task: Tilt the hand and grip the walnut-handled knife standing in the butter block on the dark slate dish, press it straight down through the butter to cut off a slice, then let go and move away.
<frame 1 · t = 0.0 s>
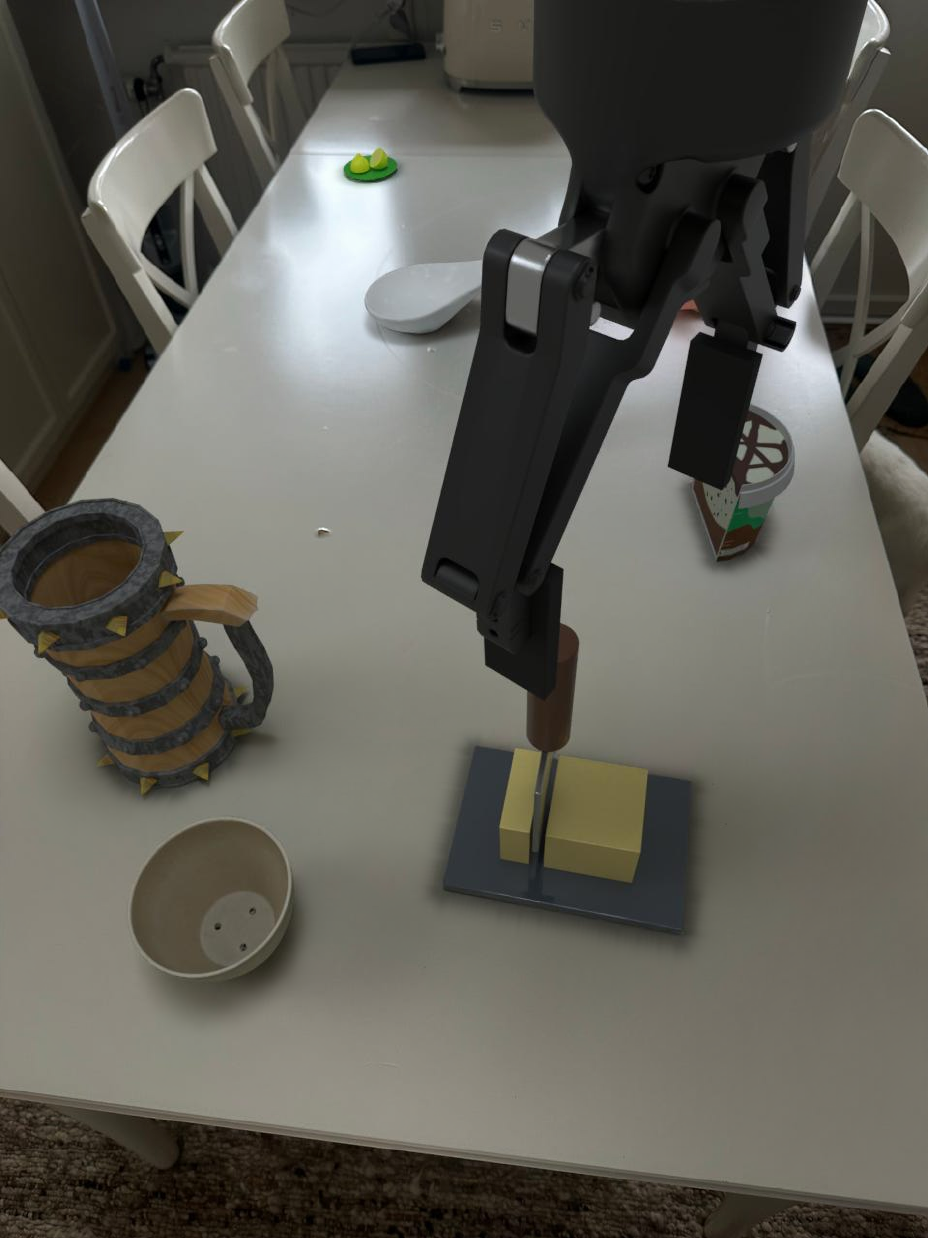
hand: (617, 566, 35), 31 cm above the table, tool pointing down, fingers open, 13 cm apart
knife: (548, 728, 51), point 14 cm above the table, slide at 0.0 cm
salt shaker: (556, 442, 88), on the table
lemon: (371, 172, 128), on the table
food container: (735, 523, 80), on the table
teapot: (670, 295, 104), on the table
flower pot: (239, 932, 58), on the table
spoon rest: (466, 322, 102), on the table
butter dish: (570, 836, 61), on the table
mug: (203, 733, 68), on the table
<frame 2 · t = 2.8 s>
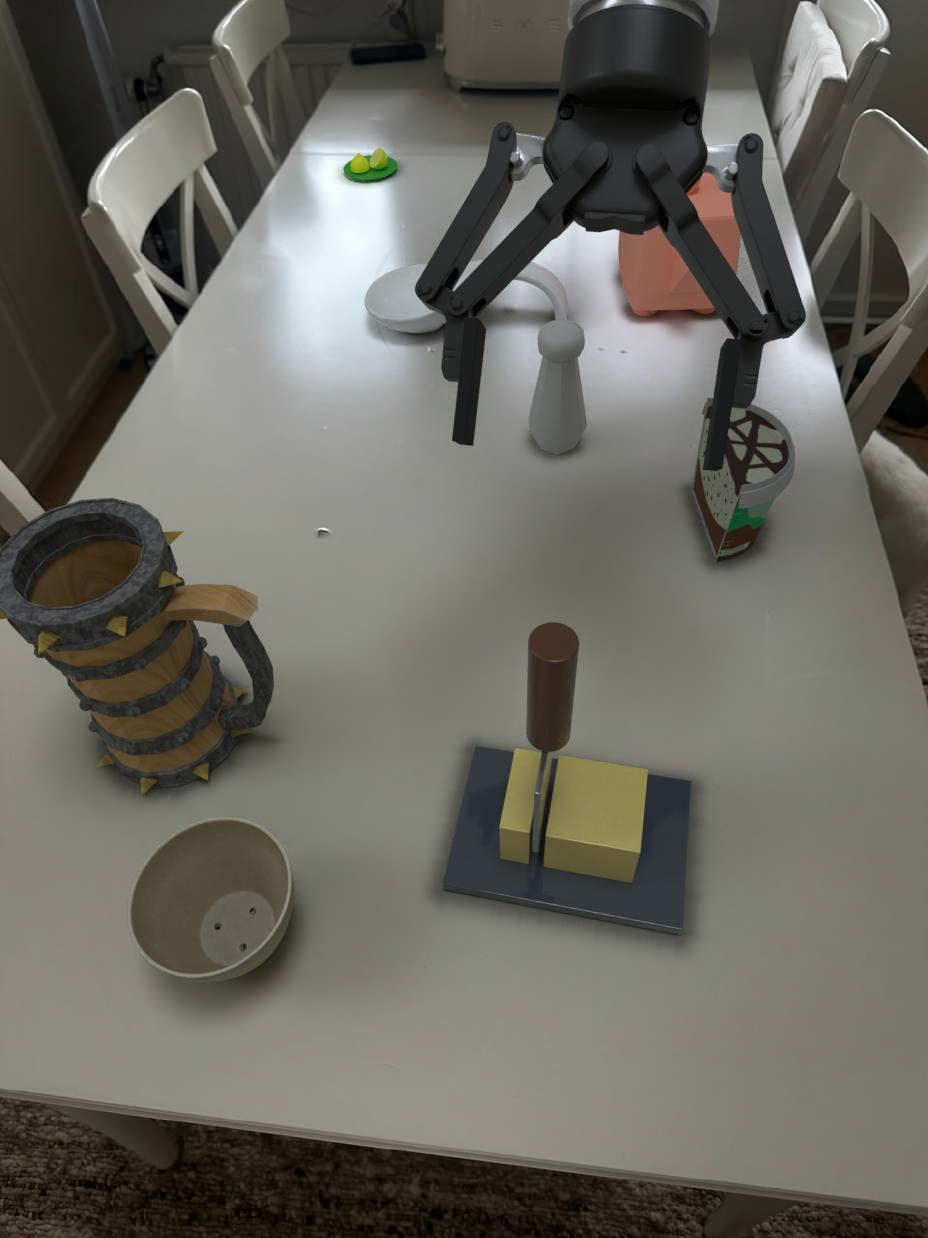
hand: (584, 456, 47), 26 cm above the table, tool tilted 45°, fingers open, 13 cm apart
nothing on the table moved.
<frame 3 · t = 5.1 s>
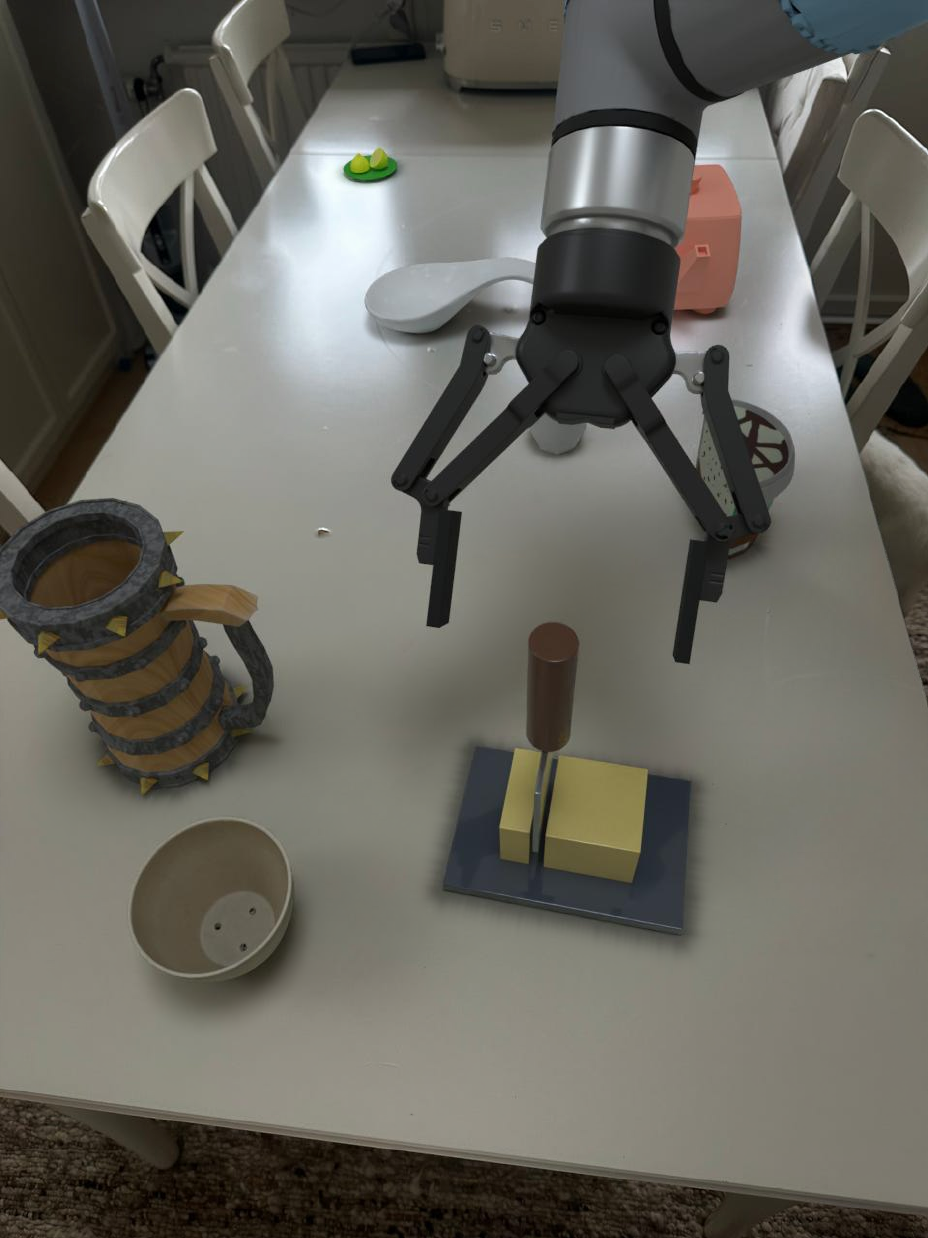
hand: (556, 642, 48), 19 cm above the table, tool tilted 45°, fingers open, 13 cm apart
nothing on the table moved.
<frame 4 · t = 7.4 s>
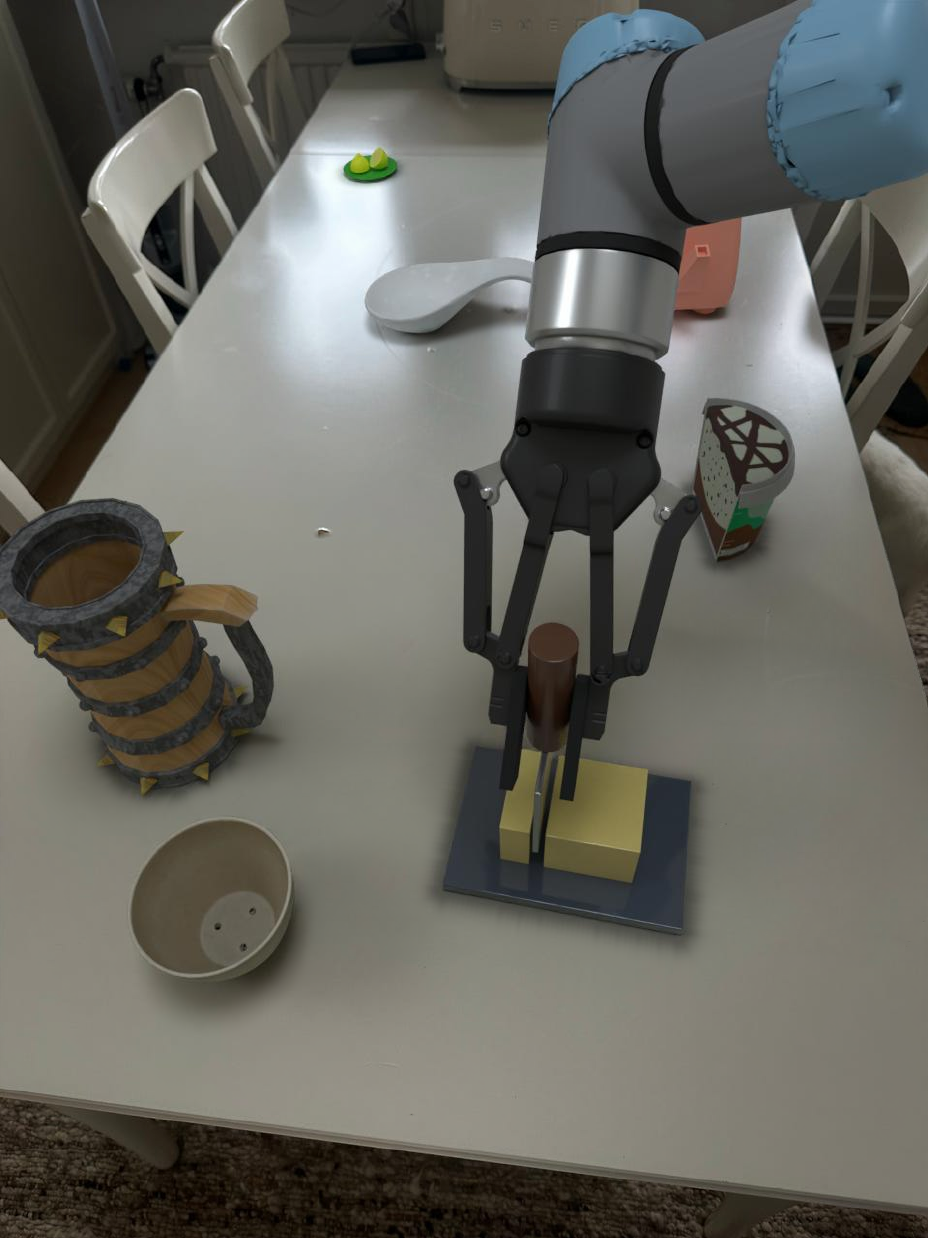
hand: (538, 787, 48), 14 cm above the table, tool tilted 45°, fingers closed on knife, 3 cm apart
knife: (548, 729, 51), point 14 cm above the table, slide at 0.0 cm, touching gripper
everything else where it was.
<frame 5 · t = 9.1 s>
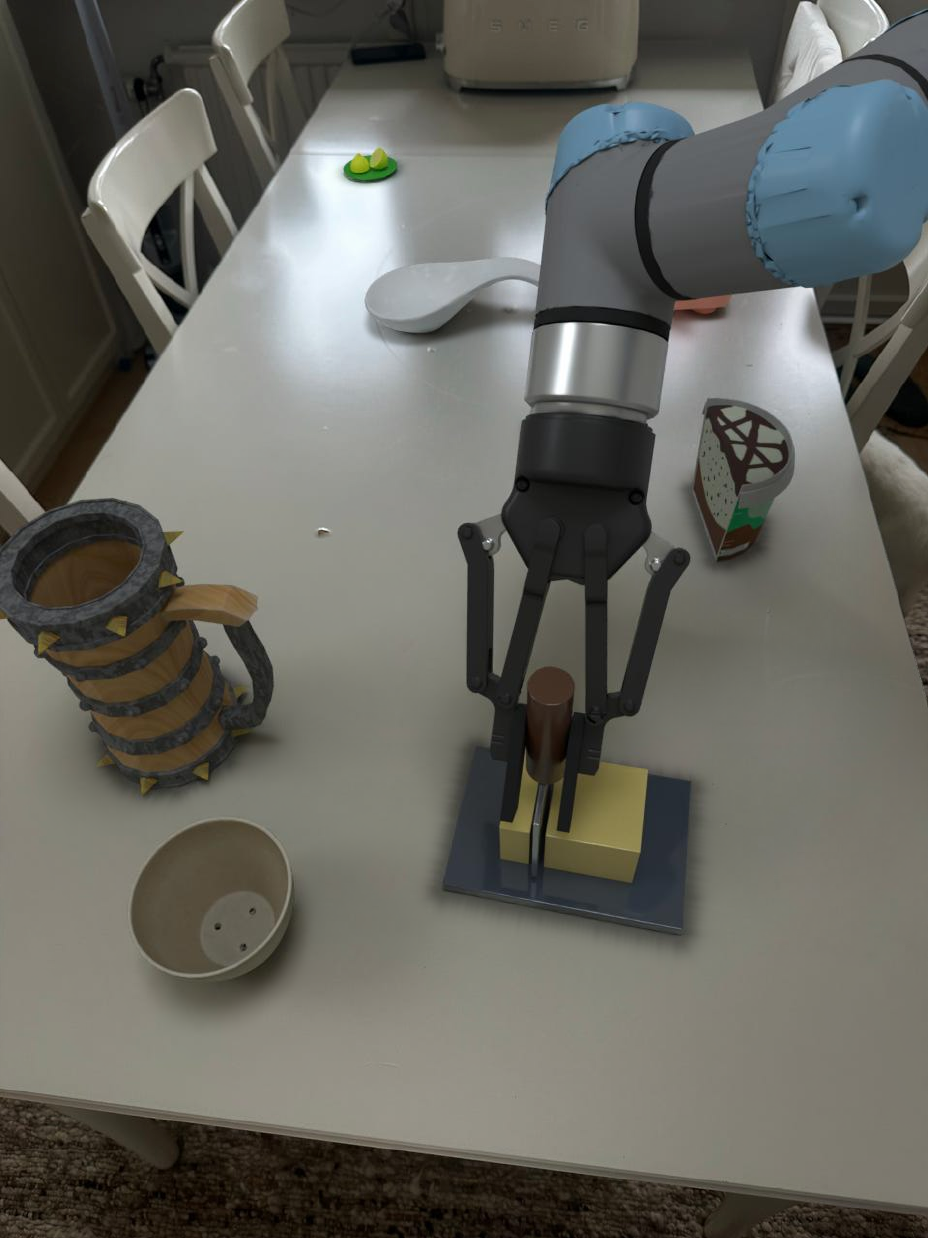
hand: (536, 818, 51), 10 cm above the table, tool tilted 45°, fingers closed on knife, 3 cm apart
knife: (546, 762, 54), point 10 cm above the table, slide at 4.0 cm, touching gripper
everything else where it was.
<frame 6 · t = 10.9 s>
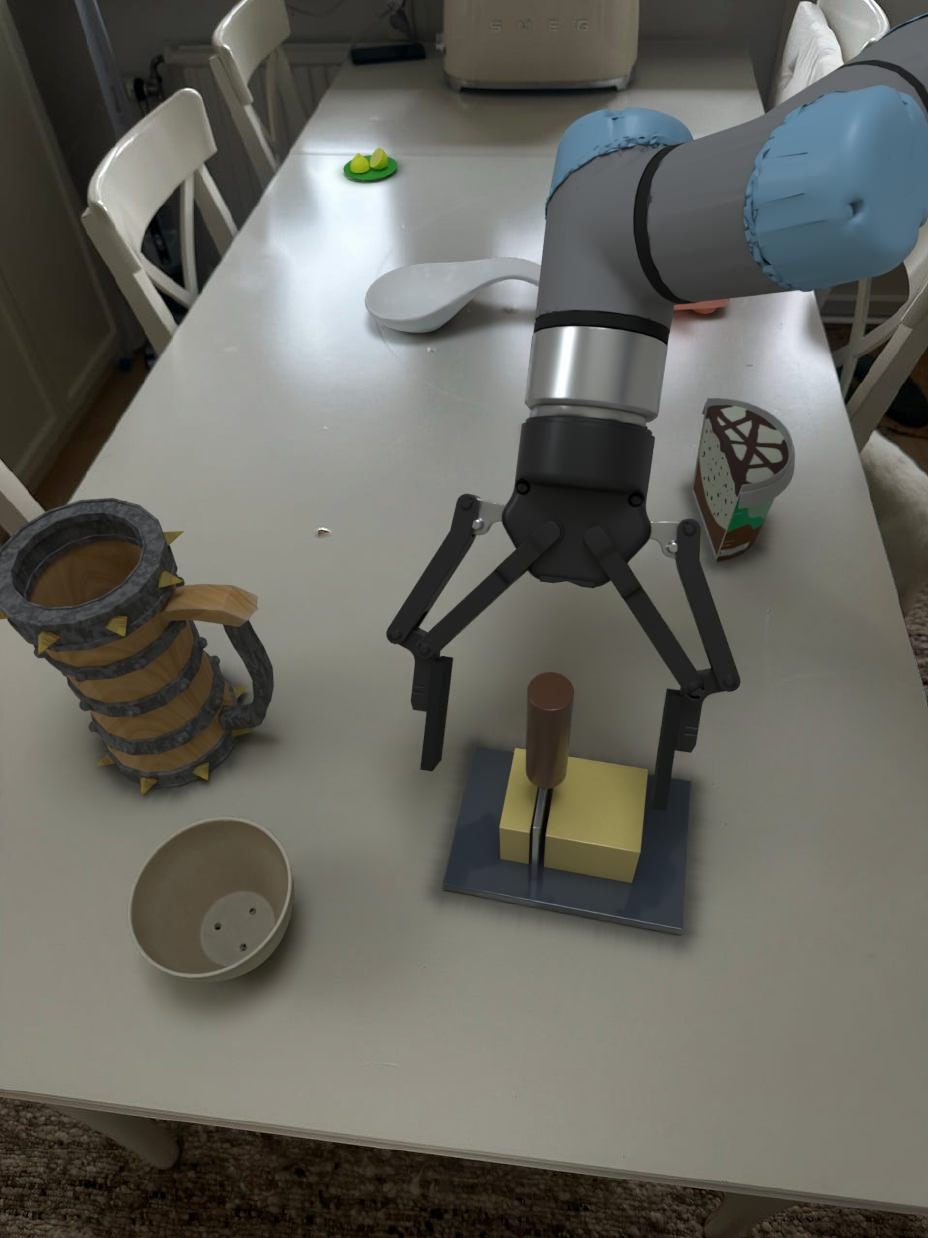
hand: (542, 784, 51), 11 cm above the table, tool tilted 45°, fingers open, 13 cm apart
knife: (546, 766, 54), point 9 cm above the table, slide at 4.5 cm, touching butter dish
everything else where it was.
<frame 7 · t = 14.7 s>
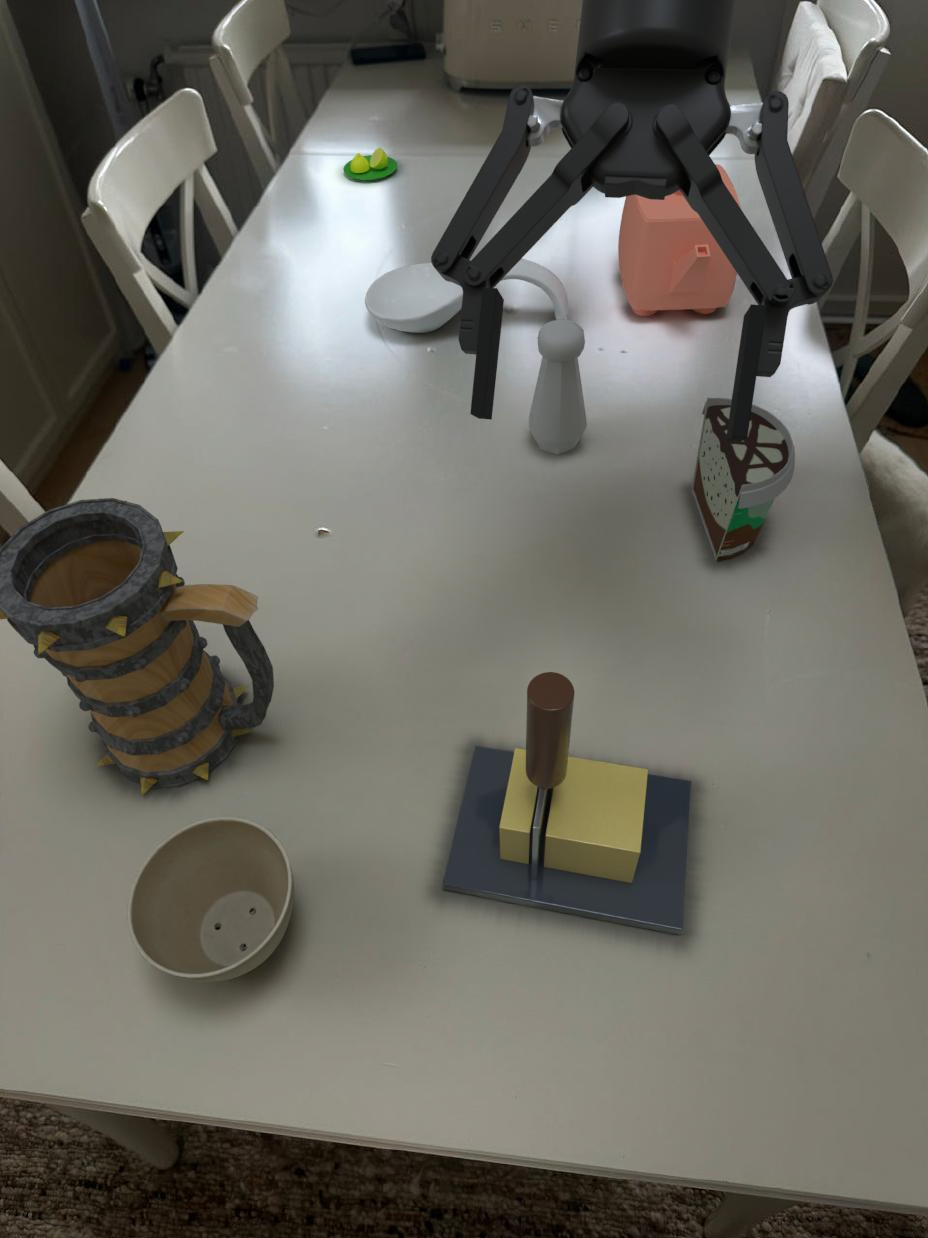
hand: (605, 428, 46), 28 cm above the table, tool tilted 45°, fingers open, 13 cm apart
nothing on the table moved.
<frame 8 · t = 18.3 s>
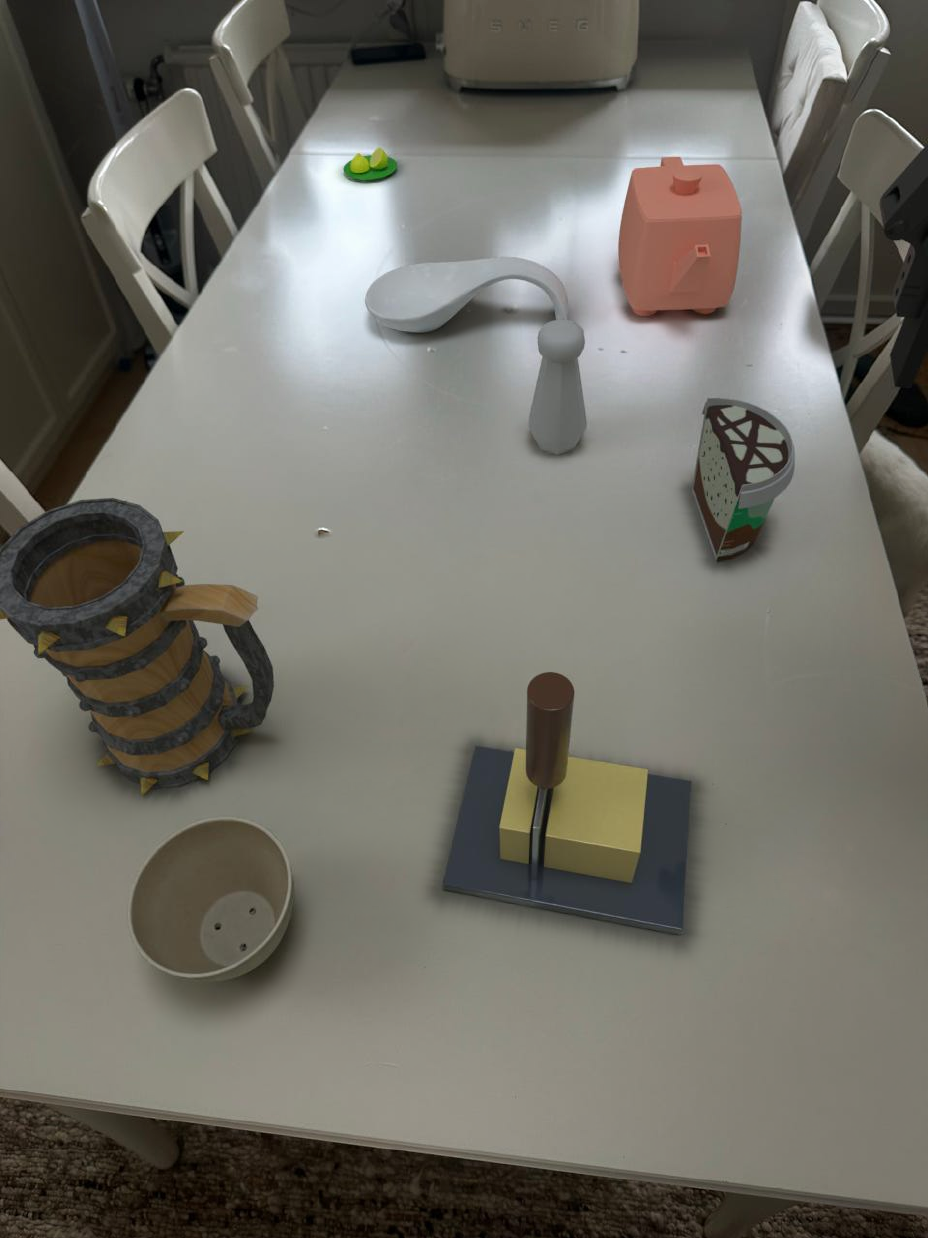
nothing on the table moved.
at the end: knife slide at 4.5 cm; the gripper is holding nothing; food container moved 0.2 cm from its start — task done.
